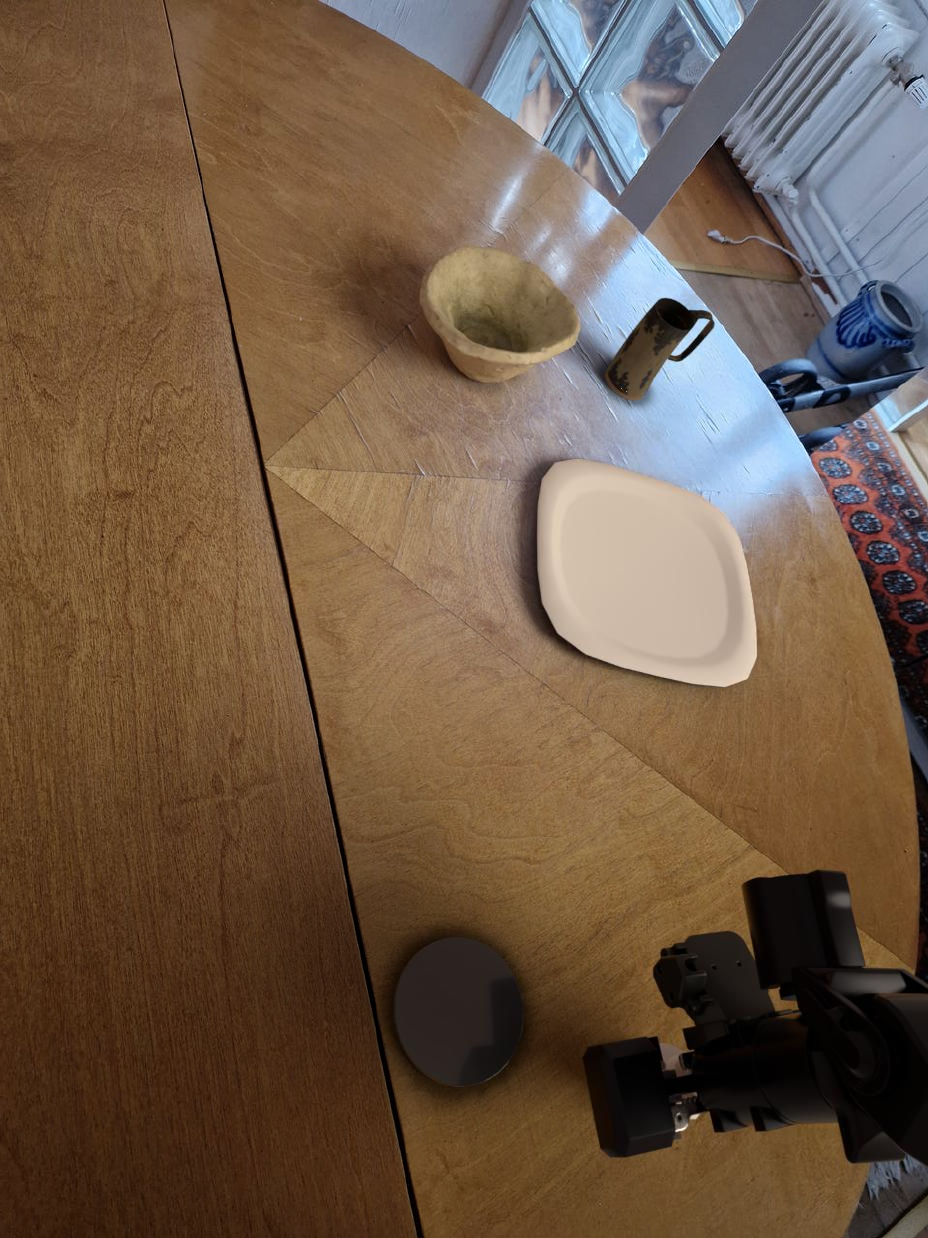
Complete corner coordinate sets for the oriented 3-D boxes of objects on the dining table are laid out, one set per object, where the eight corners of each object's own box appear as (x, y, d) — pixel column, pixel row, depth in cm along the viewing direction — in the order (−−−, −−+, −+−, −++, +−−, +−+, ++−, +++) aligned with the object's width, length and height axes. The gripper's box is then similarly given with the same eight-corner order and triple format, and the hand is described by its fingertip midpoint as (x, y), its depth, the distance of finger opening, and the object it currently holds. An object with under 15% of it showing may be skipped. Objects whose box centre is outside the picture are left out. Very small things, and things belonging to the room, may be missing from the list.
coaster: (539, 1060, 65) (542, 1059, 65) (415, 1108, 61) (417, 1108, 60) (496, 923, 69) (498, 921, 69) (376, 959, 65) (378, 957, 64)
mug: (607, 395, 105) (662, 319, 96) (600, 360, 108) (652, 283, 98) (664, 407, 108) (723, 334, 99) (656, 373, 111) (712, 299, 101)
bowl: (474, 435, 100) (403, 356, 89) (474, 315, 108) (409, 228, 97) (589, 396, 94) (529, 305, 83) (581, 271, 102) (525, 172, 90)
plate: (530, 654, 83) (538, 646, 82) (531, 450, 96) (538, 440, 95) (758, 707, 90) (769, 700, 89) (730, 510, 103) (739, 501, 102)
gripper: (863, 912, 60) (725, 953, 72) (626, 942, 52) (518, 982, 65) (928, 1099, 55) (768, 1108, 67) (676, 1161, 47) (549, 1158, 60)
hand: (654, 1084), depth 65 cm, fingers closed on salt shaker, 5 cm apart
